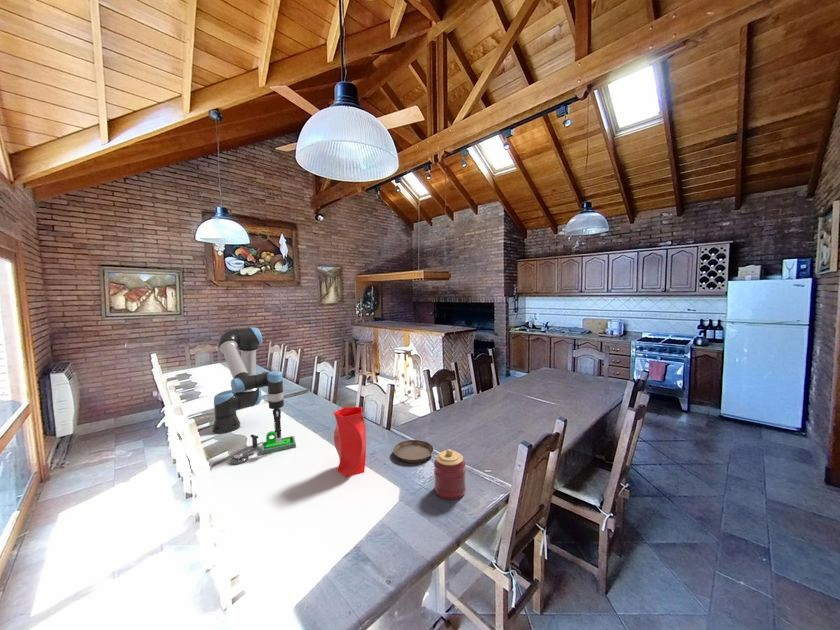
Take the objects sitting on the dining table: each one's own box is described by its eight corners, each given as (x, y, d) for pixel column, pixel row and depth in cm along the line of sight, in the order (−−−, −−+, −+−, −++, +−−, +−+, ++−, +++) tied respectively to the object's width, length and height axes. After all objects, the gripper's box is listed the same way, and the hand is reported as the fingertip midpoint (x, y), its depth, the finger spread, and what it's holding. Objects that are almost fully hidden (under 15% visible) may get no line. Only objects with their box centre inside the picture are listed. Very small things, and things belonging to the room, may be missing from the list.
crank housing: (230, 459, 166) (230, 456, 166) (248, 455, 170) (248, 453, 170) (229, 466, 159) (229, 463, 159) (247, 462, 163) (247, 459, 163)
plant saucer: (439, 449, 171) (439, 443, 170) (423, 469, 152) (423, 462, 152) (405, 442, 179) (405, 437, 179) (385, 460, 161) (385, 454, 161)
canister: (457, 504, 126) (456, 460, 125) (428, 494, 133) (427, 452, 131) (470, 486, 137) (470, 446, 135) (443, 478, 144) (442, 439, 142)
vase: (372, 464, 157) (370, 408, 156) (357, 480, 144) (354, 419, 142) (345, 459, 162) (343, 405, 161) (328, 475, 149) (325, 415, 147)
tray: (262, 446, 179) (261, 442, 179) (293, 439, 187) (293, 435, 187) (262, 454, 170) (262, 450, 170) (296, 447, 177) (295, 443, 177)
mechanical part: (266, 450, 173) (265, 436, 173) (266, 446, 179) (265, 432, 178) (290, 446, 178) (289, 432, 177) (290, 441, 183) (289, 427, 183)
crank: (238, 460, 161) (237, 445, 161) (232, 458, 164) (231, 443, 163) (260, 450, 172) (259, 435, 172) (254, 448, 174) (253, 434, 174)
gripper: (267, 394, 186) (269, 431, 187) (269, 408, 164) (271, 449, 166) (281, 392, 189) (283, 428, 191) (285, 405, 168) (287, 445, 169)
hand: (278, 438), depth 178 cm, fingers open, 12 cm apart
